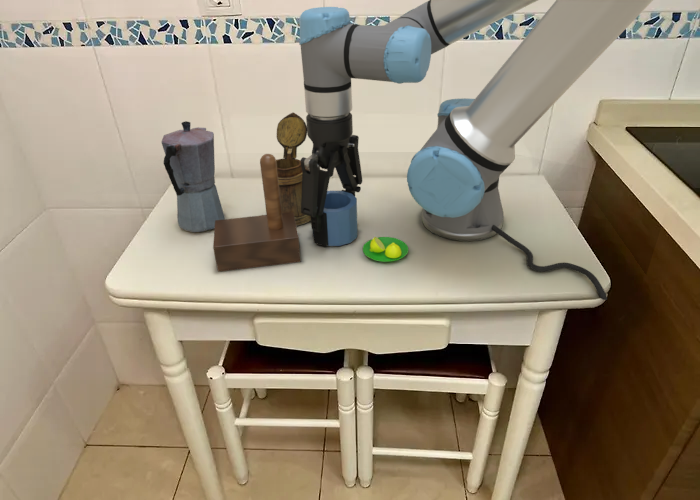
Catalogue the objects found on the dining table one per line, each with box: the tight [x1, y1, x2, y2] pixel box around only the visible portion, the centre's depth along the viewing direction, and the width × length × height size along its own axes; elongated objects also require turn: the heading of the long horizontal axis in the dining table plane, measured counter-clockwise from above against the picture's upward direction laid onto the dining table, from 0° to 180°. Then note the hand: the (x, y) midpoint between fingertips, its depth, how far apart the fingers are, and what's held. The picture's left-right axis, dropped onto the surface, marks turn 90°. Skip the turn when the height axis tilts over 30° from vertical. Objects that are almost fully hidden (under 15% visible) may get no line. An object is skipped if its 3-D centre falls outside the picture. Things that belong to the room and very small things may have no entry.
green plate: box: [362, 236, 409, 263], centre depth 91 cm, size 8×8×3 cm
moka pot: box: [161, 120, 226, 233], centre depth 96 cm, size 10×15×20 cm, turn 173°
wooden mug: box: [276, 112, 311, 227], centre depth 100 cm, size 9×14×18 cm, turn 174°
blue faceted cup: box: [311, 190, 359, 247], centre depth 95 cm, size 8×8×7 cm
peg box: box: [212, 153, 301, 273], centre depth 87 cm, size 14×9×18 cm, turn 100°
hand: (335, 232), depth 96 cm, fingers closed on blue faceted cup, 8 cm apart
